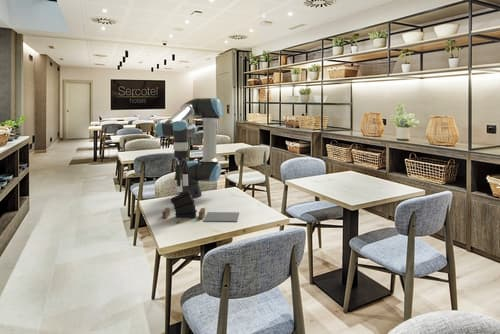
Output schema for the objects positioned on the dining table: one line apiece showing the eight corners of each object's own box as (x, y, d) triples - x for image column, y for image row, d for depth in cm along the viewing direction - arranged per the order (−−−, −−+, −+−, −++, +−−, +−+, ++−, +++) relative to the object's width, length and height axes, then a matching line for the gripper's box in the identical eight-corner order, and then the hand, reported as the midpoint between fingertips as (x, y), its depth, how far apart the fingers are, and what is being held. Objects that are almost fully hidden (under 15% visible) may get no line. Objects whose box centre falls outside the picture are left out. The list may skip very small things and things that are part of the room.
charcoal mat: (207, 213, 199) (207, 212, 199) (239, 213, 198) (239, 212, 198) (203, 221, 185) (203, 220, 185) (237, 221, 184) (237, 220, 184)
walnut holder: (162, 218, 190) (162, 211, 189) (166, 214, 196) (166, 207, 196) (202, 219, 188) (202, 212, 188) (205, 215, 195) (204, 208, 195)
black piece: (200, 215, 190) (187, 191, 187) (179, 224, 192) (166, 201, 190) (202, 213, 193) (189, 189, 191) (181, 222, 195) (169, 199, 193)
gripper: (179, 146, 198) (181, 183, 202) (167, 153, 173) (169, 194, 177) (193, 146, 197) (194, 183, 201) (182, 153, 173) (184, 194, 177)
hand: (182, 188), depth 189 cm, fingers open, 13 cm apart
